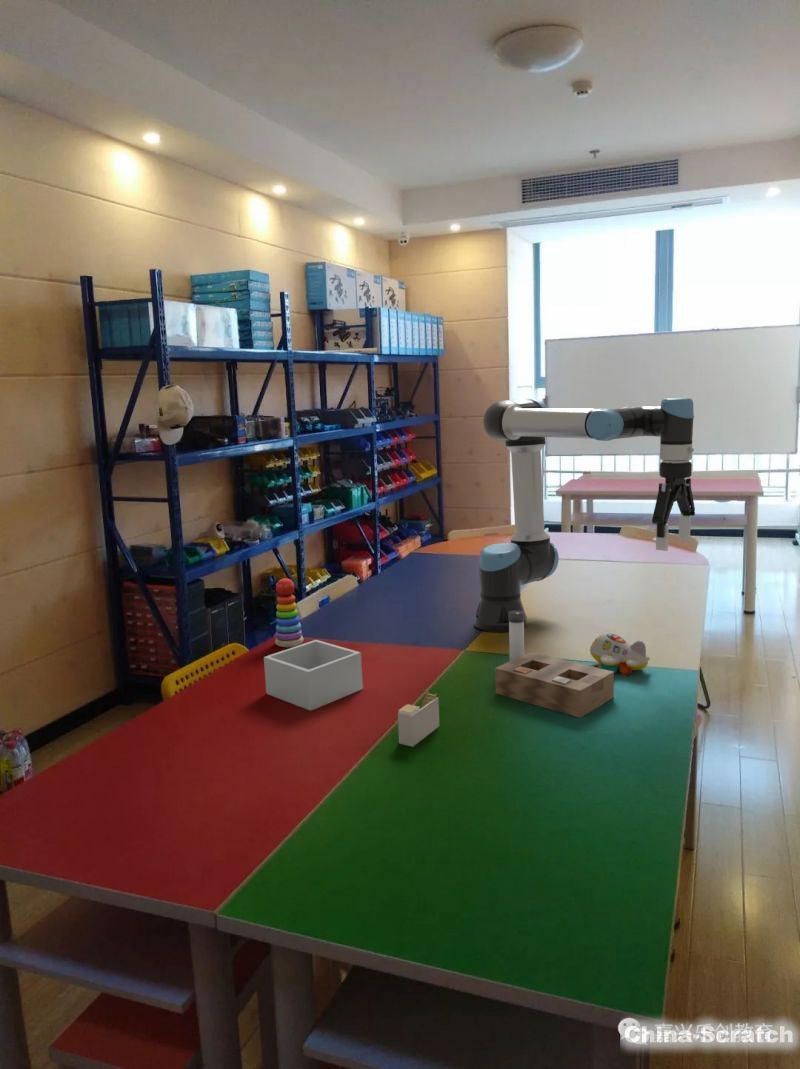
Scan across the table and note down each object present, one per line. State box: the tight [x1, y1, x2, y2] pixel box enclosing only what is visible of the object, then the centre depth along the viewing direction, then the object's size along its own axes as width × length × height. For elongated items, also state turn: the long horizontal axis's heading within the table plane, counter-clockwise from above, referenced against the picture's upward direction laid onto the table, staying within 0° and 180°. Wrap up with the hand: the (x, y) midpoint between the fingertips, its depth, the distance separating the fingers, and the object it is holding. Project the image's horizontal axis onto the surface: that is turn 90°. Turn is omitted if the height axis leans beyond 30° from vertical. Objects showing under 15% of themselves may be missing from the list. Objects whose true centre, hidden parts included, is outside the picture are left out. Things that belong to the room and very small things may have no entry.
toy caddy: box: [263, 639, 364, 711], centre depth 184 cm, size 16×16×9 cm
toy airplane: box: [589, 633, 651, 676], centre depth 191 cm, size 13×9×15 cm
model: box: [397, 691, 440, 748], centre depth 159 cm, size 3×11×8 cm, turn 148°
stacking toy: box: [274, 577, 305, 648], centre depth 219 cm, size 8×8×19 cm
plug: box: [508, 611, 525, 661], centre depth 195 cm, size 4×4×14 cm
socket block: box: [494, 651, 615, 719], centre depth 177 cm, size 22×14×6 cm, turn 47°
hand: (673, 545), depth 199 cm, fingers open, 13 cm apart
